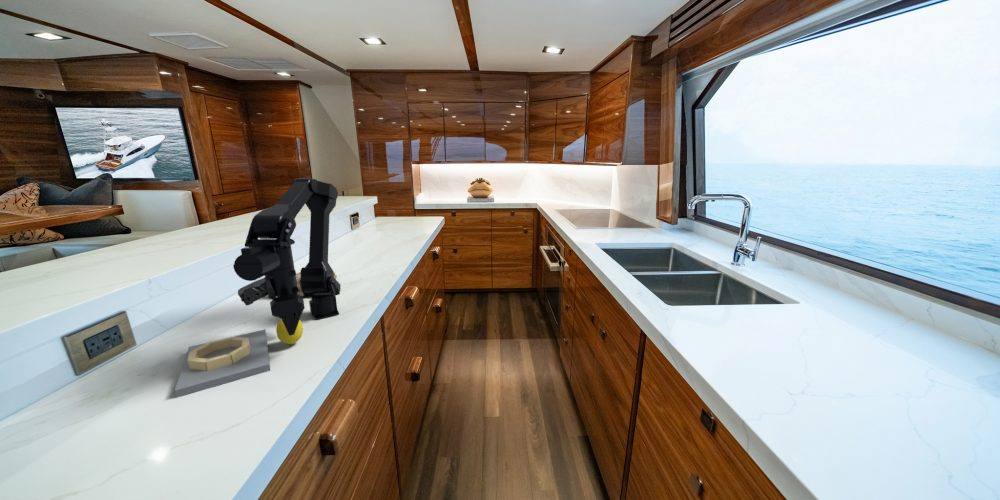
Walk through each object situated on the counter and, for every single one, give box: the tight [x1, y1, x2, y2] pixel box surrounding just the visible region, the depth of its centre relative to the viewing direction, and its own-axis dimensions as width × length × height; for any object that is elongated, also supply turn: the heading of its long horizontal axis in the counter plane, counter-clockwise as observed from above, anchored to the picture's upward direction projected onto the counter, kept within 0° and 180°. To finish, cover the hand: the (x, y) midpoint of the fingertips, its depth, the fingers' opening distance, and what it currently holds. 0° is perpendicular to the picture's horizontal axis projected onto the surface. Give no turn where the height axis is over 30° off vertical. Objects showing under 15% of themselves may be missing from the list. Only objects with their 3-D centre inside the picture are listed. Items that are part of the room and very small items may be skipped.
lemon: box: [275, 318, 304, 346], centre depth 82 cm, size 6×6×8 cm
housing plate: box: [174, 328, 271, 398], centre depth 76 cm, size 15×20×4 cm
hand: (289, 327), depth 82 cm, fingers open, 9 cm apart
